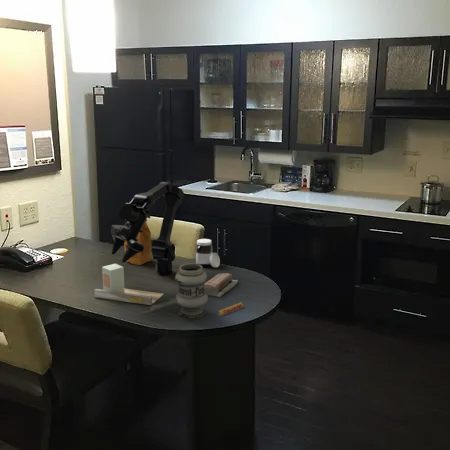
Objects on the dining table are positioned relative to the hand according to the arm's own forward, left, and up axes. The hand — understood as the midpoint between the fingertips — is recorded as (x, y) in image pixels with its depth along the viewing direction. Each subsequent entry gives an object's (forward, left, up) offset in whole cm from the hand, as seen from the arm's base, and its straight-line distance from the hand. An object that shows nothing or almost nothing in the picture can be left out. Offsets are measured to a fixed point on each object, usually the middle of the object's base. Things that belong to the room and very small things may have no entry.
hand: (117, 258), depth 215 cm
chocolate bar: (-33, +38, -14) cm, 52 cm away
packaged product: (-39, +15, -14) cm, 44 cm away
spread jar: (-45, -14, -14) cm, 50 cm away
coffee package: (-16, -32, -14) cm, 39 cm away
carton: (+4, +7, -12) cm, 15 cm away
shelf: (-2, +12, -13) cm, 18 cm away
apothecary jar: (-19, +34, -14) cm, 41 cm away
